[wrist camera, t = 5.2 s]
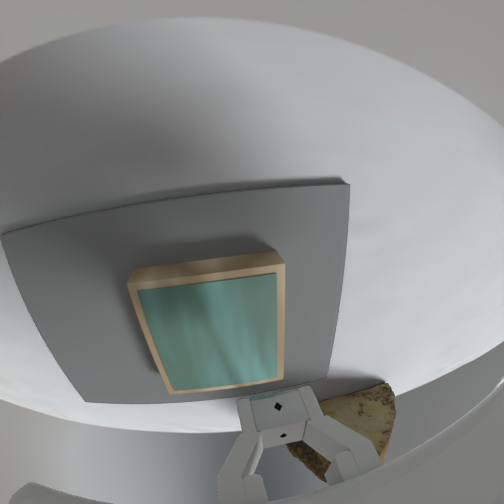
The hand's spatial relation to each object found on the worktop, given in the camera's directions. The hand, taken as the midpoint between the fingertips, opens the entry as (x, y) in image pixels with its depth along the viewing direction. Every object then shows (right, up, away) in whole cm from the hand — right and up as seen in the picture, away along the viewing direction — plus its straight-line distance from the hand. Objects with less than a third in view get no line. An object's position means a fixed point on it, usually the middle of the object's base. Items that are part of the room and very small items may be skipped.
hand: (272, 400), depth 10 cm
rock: (+7, -8, +12) cm, 16 cm away
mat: (-5, +2, +5) cm, 7 cm away
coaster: (+1, +2, +4) cm, 5 cm away
